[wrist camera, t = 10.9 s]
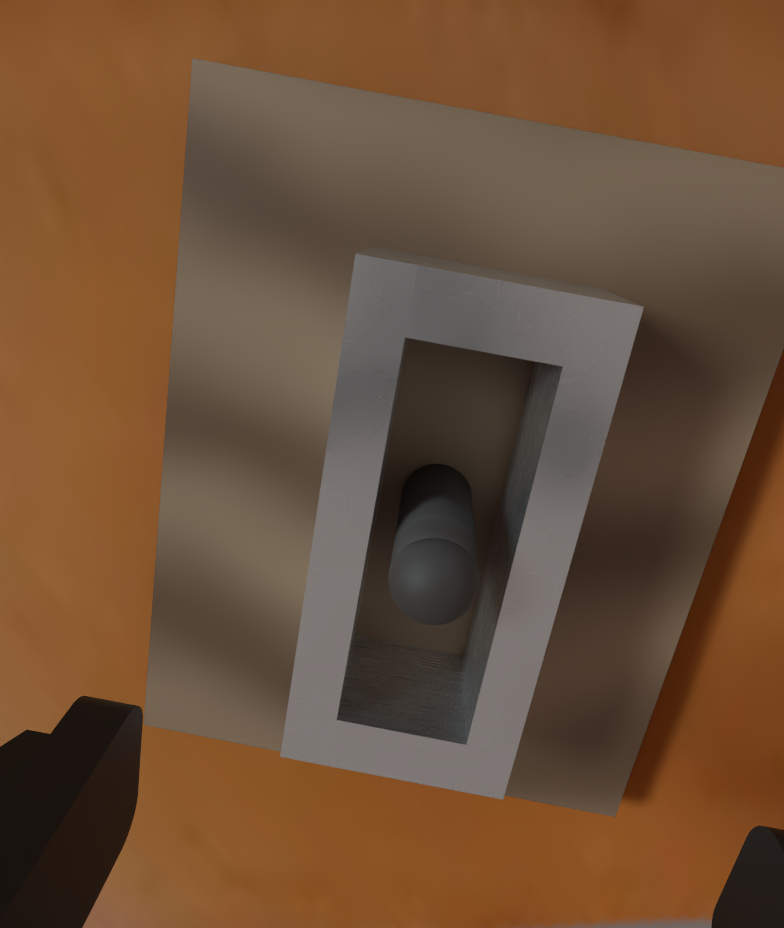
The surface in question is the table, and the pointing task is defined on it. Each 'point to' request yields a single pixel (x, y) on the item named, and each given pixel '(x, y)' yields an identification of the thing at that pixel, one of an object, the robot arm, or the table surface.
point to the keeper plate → (446, 399)
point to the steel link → (514, 535)
